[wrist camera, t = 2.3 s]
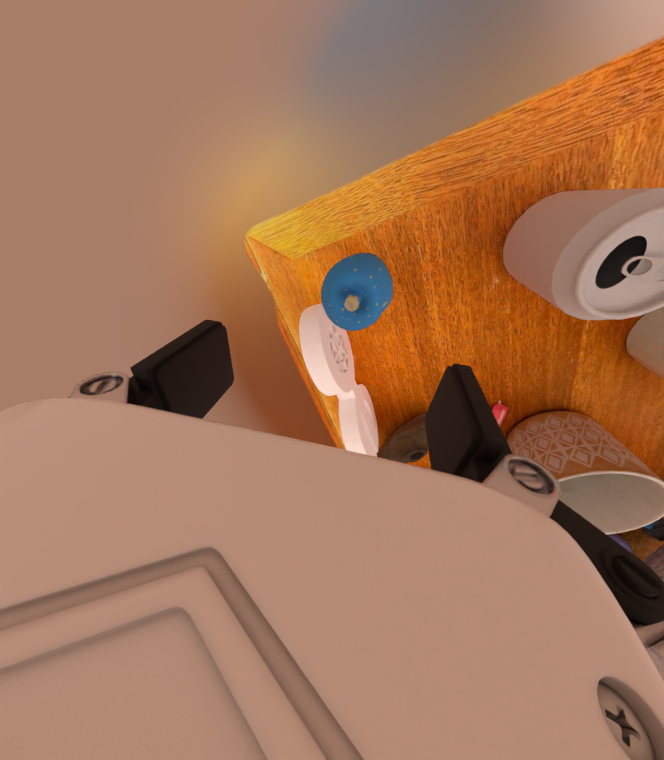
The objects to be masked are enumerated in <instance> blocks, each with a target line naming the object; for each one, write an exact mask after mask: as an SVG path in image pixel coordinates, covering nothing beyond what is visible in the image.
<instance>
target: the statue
mask: <svg viewBox="0 0 664 760" xmlns="http://www.w3.org/2000/svg"><path fill="white" fill-rule="evenodd" d="M644 563H645V564H646V565H647V566H649V567H650V568H651V569H652V570H653V571H654V572H655V573H656V574H657V575H658V576H659V577H660V578H661V580H662V581H663V582H664V545H662V546H661V547H660V548H658V549H657V550H656V551H655V552H654V553H652V554H651V555H650V556H649V557H648V558H647V559H646V560H645V561H644Z"/></svg>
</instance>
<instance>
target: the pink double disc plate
mask: <svg viewBox="0 0 664 760" xmlns="http://www.w3.org/2000/svg"><path fill="white" fill-rule="evenodd" d="M299 334H300V343H301V349H302V353H303V357H304V361H305V364H306V367H307V369H308V372H309V374H310V376H311V378H312V380H313V382H314V384H315V385H316V387H317V388H318V389H319V390H320V391H321V392H322V393H323V394H325V395H327V396H333V395H337V397H338V399H339V421H340V428H341V433H342V437H343V441H344V444H345V447H346V450H348V451H353V452H357V453H361V454H366V455H370V456H375V457H377V454H376V453H378V428H377V421H376V415H375V411H374V407H373V403H372V400H371V397H370V395H369V392H368V390H367V389H366V387H365V386H364V385H362V384H359V385H357V384H356V381H355V379H354V377H355V373H354V360H353V354H352V349H351V345H350V341H349V337H348V334H347V331H346V330H345V329H342V328H340V327H338V326H336V325H335V324H334V323H333V322H332V321H331V320H330V319H329V318H328V316H327V315H326V313H325V310H324V308H323V305H322V303H320V304H317V305H314V306H311V307H307V308H306V309H305V310H304V311H303V312H302V314H301V317H300V324H299Z"/></svg>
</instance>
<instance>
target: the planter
mask: <svg viewBox="0 0 664 760" xmlns="http://www.w3.org/2000/svg"><path fill="white" fill-rule="evenodd" d="M506 441H507V443H508V445H509V447H510V449H511V451H512V453H513V454H519V455H523V456H526V457H529V458H531V459H533V460H535V461H537V462H539V463H540V464H542V465H543V466H544V467H546V468H547V469H548V470H549V471H550V472H551V473H552V474H553V475H554V476H555V478H556V479H557V481H558V482H559V484H560V487H561V495H560V497H559V500H560V501H562V502H563V503H564V504H566V505H567V506H568V507H570V508H571V509H573V510H574V511H575V512H577V513H578V514H579V515H581V516H582V517H583V518H585V519H586V520H587V521H589V522H590V523H592V524H593V525H594V526H596V527H597V528H598V529H600V530H601V531H602V532H604V533H605V534H606V535H608V534H616V533H622V532H627V531H631V530H635V529H638V528H641V527H644V526H646V525H649V524H651V523H653V522H655V521H657V520H659V519H660V518H662V517H663V516H664V481H663V480H662V479H661V478H660V477H659V476H657V475H656V474H655V473H654V472H653V471H652V470H651V469H650V468H648V467H647V466H646V465H645V464H644V463H643V462H642V461H641V460H639V459H638V458H637V457H636V456H635V455H634V454H633V453H632V452H630V451H629V450H628V449H627V448H626V447H625V446H624V445H623V444H621V443H620V442H619V441H618V440H617V439H616V438H615V437H614V436H612V435H611V434H610V433H609V432H608V431H607V430H606V429H605V428H603V427H602V426H601V425H600V424H599V423H598V422H597V421H595V420H594V419H592V418H591V417H589V416H586V415H584V414H581V413H577V412H571V411H551V412H545V413H541V414H537V415H534V416H531V417H529V418H527V419H525V420H523V421H522V422H520V423H519V424H517V425H516V426H515V427H514V428H513V429H512V430H511V431H510V433H509V435H508V437H507V440H506Z"/></svg>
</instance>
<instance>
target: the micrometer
mask: <svg viewBox="0 0 664 760" xmlns="http://www.w3.org/2000/svg"><path fill="white" fill-rule="evenodd" d="M641 528H642V530H643V531H644V532H645V533H646V534H647V535H649V536H651V537H653V538H655V539H657V540H659V541H664V516H663V517H662V518H660V519H659V520H657V521H655V522H653V523H651V524H649V525H646V526H644V527H641Z"/></svg>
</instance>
